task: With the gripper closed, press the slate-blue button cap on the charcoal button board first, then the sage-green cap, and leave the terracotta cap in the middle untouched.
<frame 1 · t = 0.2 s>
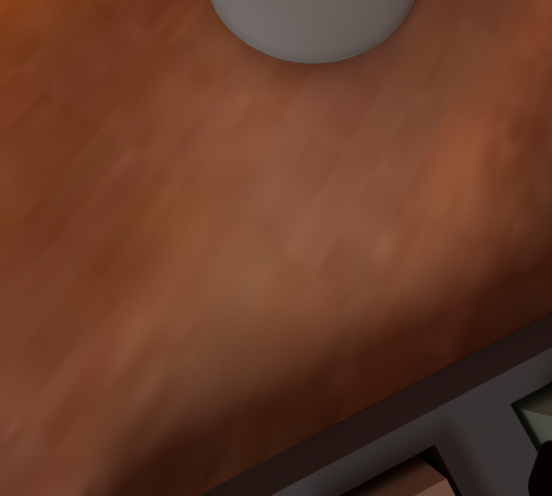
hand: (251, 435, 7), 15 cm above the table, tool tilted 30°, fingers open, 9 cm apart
flower in vase: (298, 1, 26), on the table
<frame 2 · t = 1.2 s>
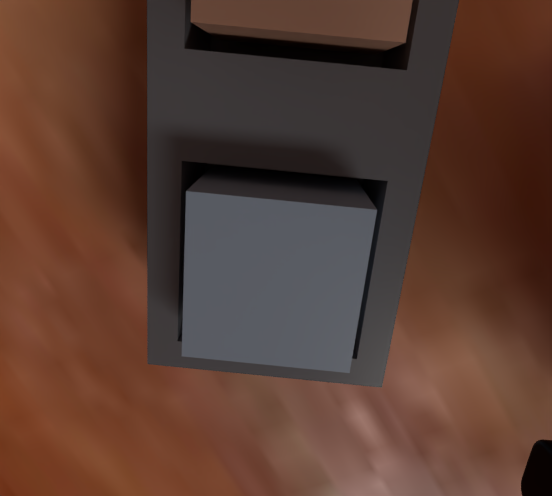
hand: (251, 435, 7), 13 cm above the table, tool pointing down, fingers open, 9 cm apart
slate blue button: (275, 261, 15), point 5 cm above the table, slide at 0.0 cm
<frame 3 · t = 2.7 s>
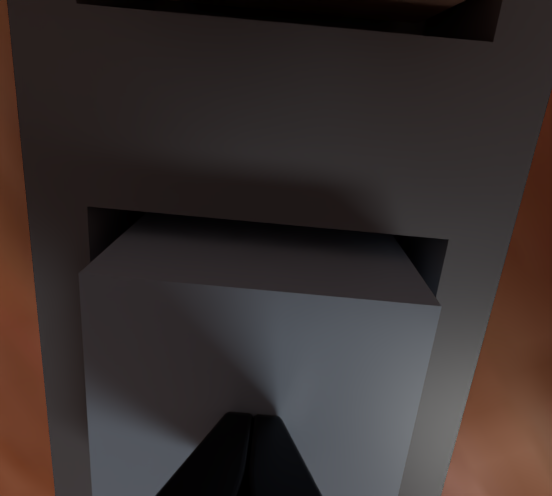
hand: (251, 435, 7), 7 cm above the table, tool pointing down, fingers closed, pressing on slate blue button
slate blue button: (257, 359, 9), point 5 cm above the table, slide at 0.1 cm, touching gripper
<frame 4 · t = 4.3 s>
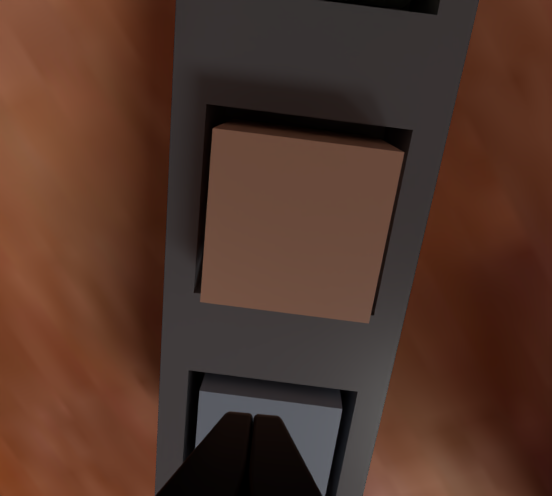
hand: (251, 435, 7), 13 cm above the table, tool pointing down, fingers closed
button board: (296, 183, 19), on the table
terracotta button: (295, 212, 15), point 5 cm above the table, slide at 0.0 cm
slate blue button: (266, 418, 19), point 4 cm above the table, slide at 1.2 cm
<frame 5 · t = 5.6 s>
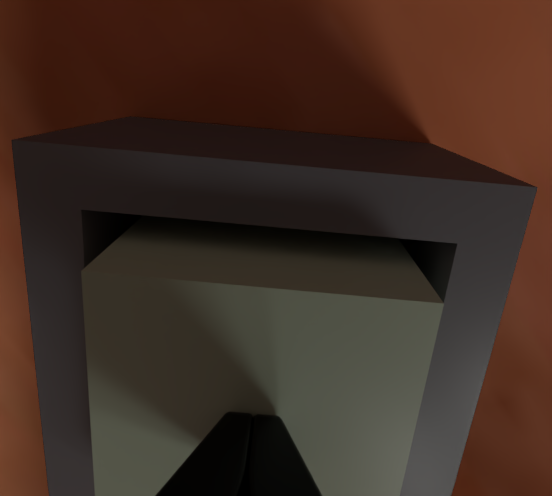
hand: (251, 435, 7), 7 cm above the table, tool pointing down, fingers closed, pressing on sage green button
sage green button: (259, 358, 9), point 5 cm above the table, slide at 0.4 cm, touching gripper
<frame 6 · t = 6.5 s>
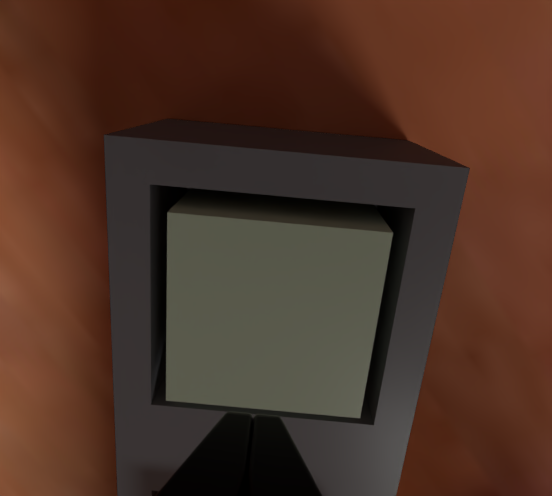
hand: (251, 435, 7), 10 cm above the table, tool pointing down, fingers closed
sage green button: (274, 286, 13), point 4 cm above the table, slide at 1.2 cm
button board: (259, 443, 20), on the table
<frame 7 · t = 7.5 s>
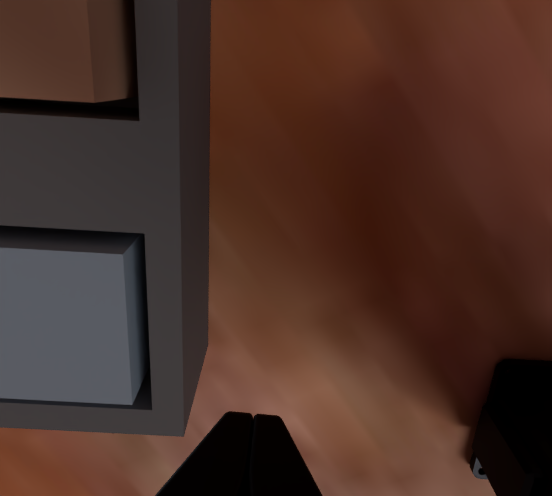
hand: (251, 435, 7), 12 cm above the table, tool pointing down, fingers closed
button board: (93, 10, 16), on the table
slate blue button: (71, 297, 15), point 4 cm above the table, slide at 1.2 cm
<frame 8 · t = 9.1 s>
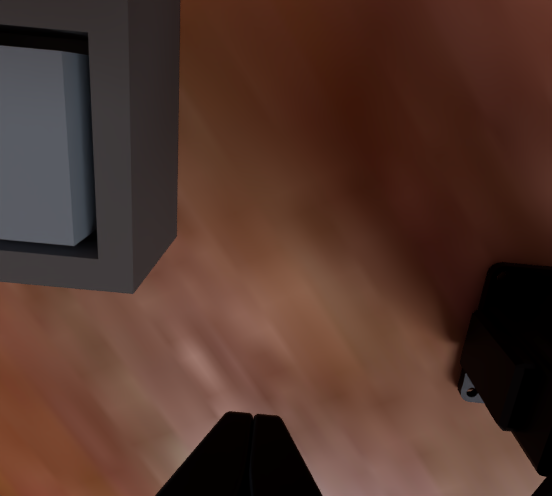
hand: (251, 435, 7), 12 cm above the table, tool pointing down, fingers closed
slate blue button: (17, 137, 14), point 4 cm above the table, slide at 1.2 cm
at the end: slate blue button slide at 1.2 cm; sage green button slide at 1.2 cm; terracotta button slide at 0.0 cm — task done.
